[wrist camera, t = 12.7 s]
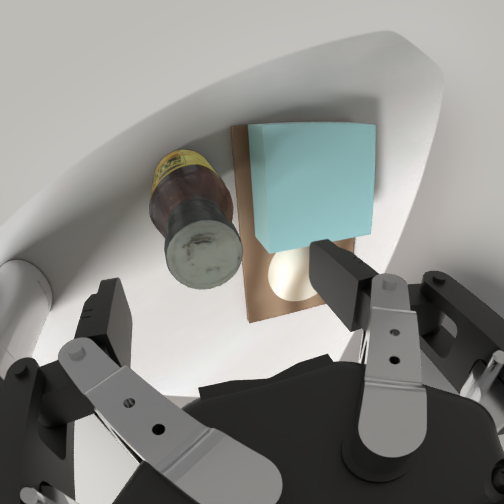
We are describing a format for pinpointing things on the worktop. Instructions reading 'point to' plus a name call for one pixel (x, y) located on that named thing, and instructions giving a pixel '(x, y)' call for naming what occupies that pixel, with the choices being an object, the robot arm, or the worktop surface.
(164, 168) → the sauce bottle
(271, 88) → the worktop surface
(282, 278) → the walnut board
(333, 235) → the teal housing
